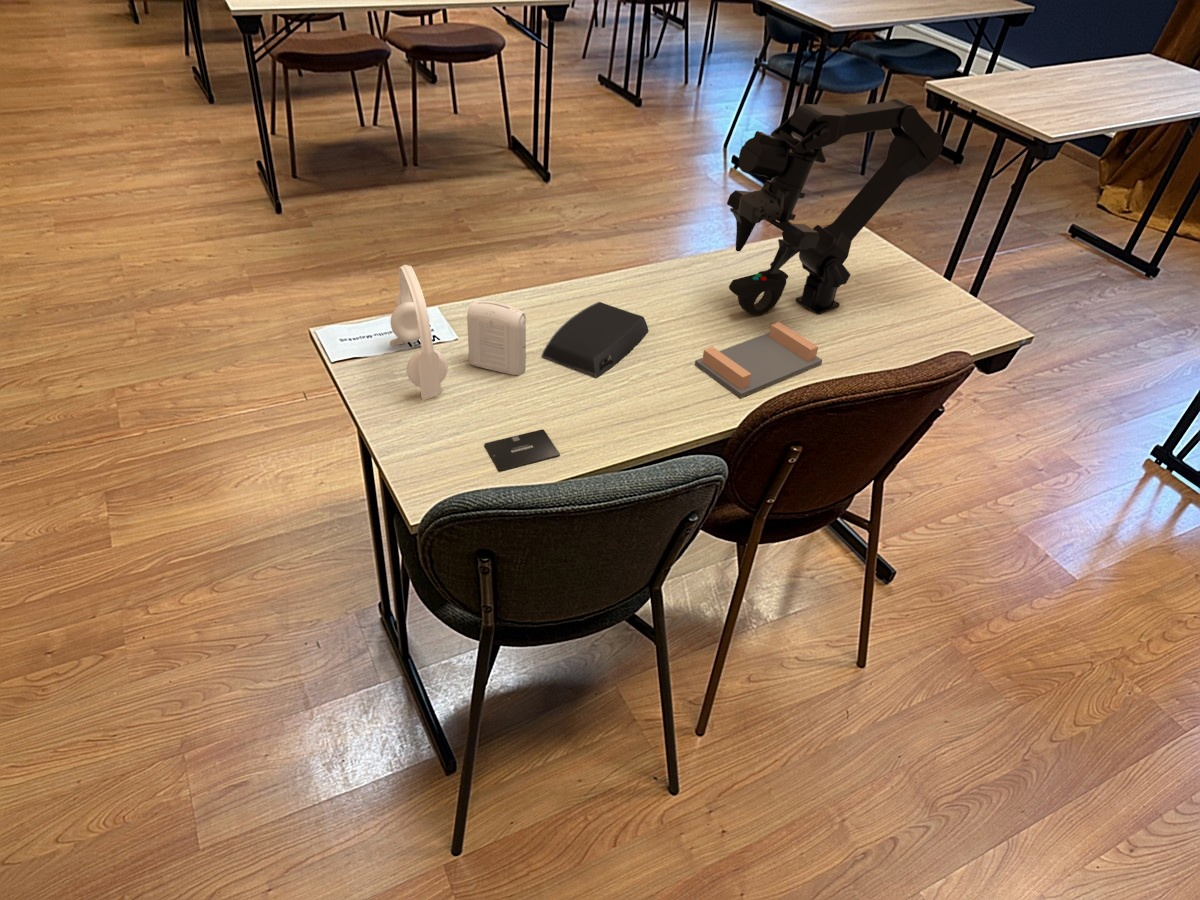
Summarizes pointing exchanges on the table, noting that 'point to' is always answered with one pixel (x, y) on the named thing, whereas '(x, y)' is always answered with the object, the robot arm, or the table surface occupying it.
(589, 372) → the external hard drive
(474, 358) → the photo printer
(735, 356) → the dock
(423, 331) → the headset
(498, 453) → the solid state drive
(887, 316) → the table surface
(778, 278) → the controller
